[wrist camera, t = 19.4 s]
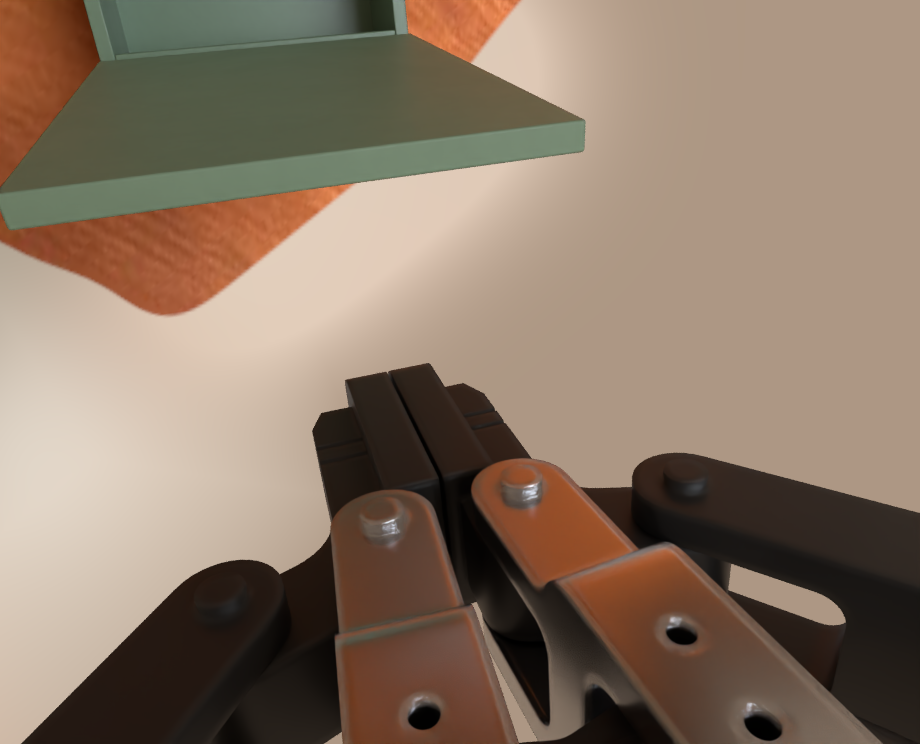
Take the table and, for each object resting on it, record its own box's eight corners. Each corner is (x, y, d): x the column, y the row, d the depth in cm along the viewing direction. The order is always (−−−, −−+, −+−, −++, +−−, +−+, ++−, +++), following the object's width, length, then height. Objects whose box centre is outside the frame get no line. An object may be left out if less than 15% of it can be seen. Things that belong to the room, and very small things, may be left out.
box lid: (-8, 194, 14) (7, 231, 15) (586, 119, 17) (585, 152, 18) (98, 61, 29) (104, 82, 29) (411, 33, 32) (412, 52, 32)
